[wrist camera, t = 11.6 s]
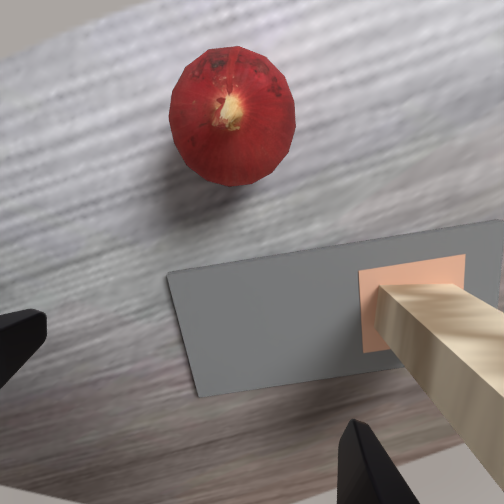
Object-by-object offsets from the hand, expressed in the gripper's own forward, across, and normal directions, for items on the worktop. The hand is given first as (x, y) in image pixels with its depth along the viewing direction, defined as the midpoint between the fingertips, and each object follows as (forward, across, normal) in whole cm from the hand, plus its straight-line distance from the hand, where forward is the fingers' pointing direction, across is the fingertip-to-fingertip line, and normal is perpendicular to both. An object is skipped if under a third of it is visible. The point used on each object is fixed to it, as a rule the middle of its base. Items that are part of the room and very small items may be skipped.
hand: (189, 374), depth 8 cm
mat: (+13, -7, +4) cm, 15 cm away
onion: (+12, +3, -6) cm, 14 cm away
